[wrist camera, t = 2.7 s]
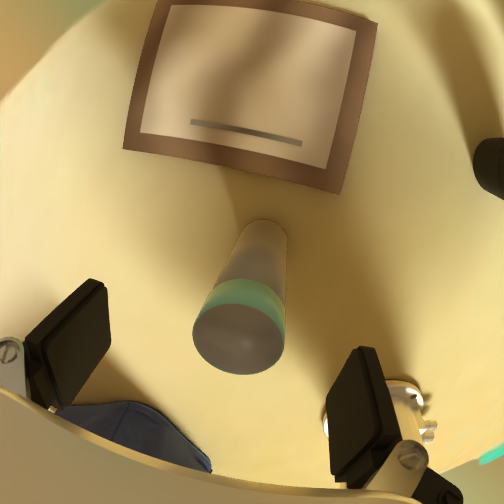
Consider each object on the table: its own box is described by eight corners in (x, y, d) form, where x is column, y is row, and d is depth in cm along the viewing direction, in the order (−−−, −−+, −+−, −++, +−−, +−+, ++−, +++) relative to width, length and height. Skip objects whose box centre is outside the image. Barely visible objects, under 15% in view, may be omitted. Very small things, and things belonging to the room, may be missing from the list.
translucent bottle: (293, 222, 23) (295, 315, 11) (281, 264, 24) (271, 382, 12) (246, 210, 23) (198, 291, 11) (237, 253, 24) (188, 361, 12)
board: (373, 28, 16) (378, 22, 15) (337, 192, 21) (340, 195, 20) (166, -3, 17) (159, -9, 15) (129, 148, 22) (120, 149, 21)
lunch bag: (112, 466, 46) (81, 533, 27) (44, 403, 41) (-6, 472, 22) (230, 468, 38) (206, 574, 19) (145, 389, 32) (78, 523, 13)
